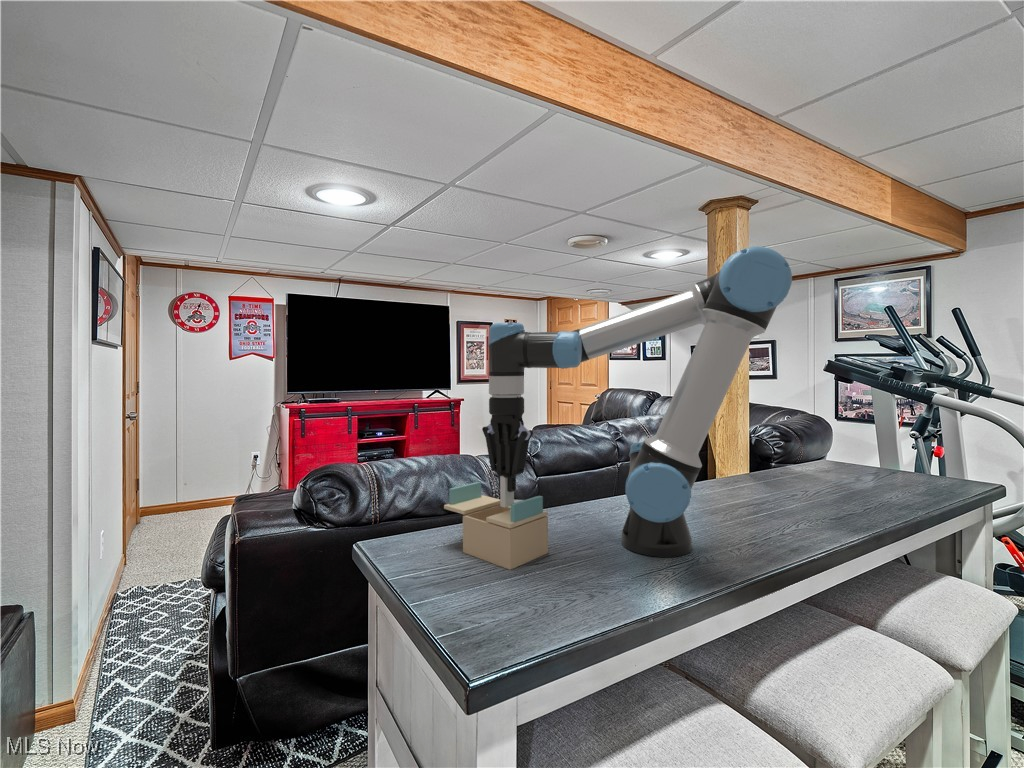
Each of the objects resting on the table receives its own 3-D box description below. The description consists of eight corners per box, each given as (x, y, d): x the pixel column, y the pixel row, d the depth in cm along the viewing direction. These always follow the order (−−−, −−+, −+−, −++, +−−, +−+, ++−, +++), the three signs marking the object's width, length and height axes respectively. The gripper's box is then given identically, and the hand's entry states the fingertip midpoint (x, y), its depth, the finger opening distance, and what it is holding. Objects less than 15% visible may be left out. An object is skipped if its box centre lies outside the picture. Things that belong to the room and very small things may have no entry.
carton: (548, 552, 108) (548, 516, 108) (510, 569, 100) (509, 530, 99) (501, 538, 118) (501, 504, 118) (463, 552, 109) (462, 515, 109)
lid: (502, 503, 117) (502, 485, 117) (464, 514, 109) (464, 494, 108) (481, 498, 122) (481, 480, 122) (444, 508, 113) (443, 489, 113)
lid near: (547, 515, 108) (547, 495, 108) (510, 528, 99) (510, 506, 99) (523, 509, 113) (523, 490, 112) (486, 521, 104) (486, 500, 104)
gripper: (541, 396, 105) (541, 507, 106) (497, 394, 114) (497, 496, 115) (517, 398, 100) (517, 515, 101) (472, 395, 109) (473, 503, 110)
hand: (507, 505), depth 108 cm, fingers closed
